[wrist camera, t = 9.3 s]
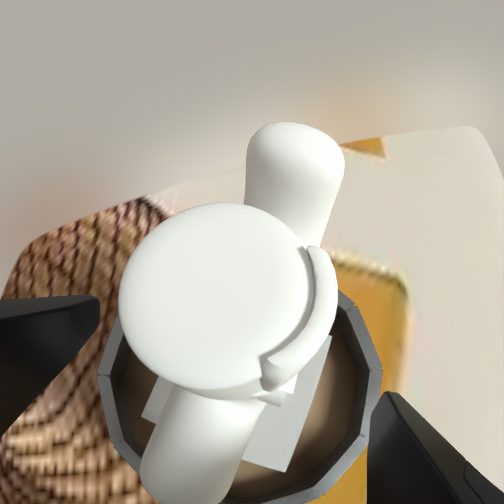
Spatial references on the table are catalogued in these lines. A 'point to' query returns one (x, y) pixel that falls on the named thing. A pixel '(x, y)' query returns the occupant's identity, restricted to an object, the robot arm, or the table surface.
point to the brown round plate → (313, 432)
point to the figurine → (235, 318)
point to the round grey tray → (291, 497)
